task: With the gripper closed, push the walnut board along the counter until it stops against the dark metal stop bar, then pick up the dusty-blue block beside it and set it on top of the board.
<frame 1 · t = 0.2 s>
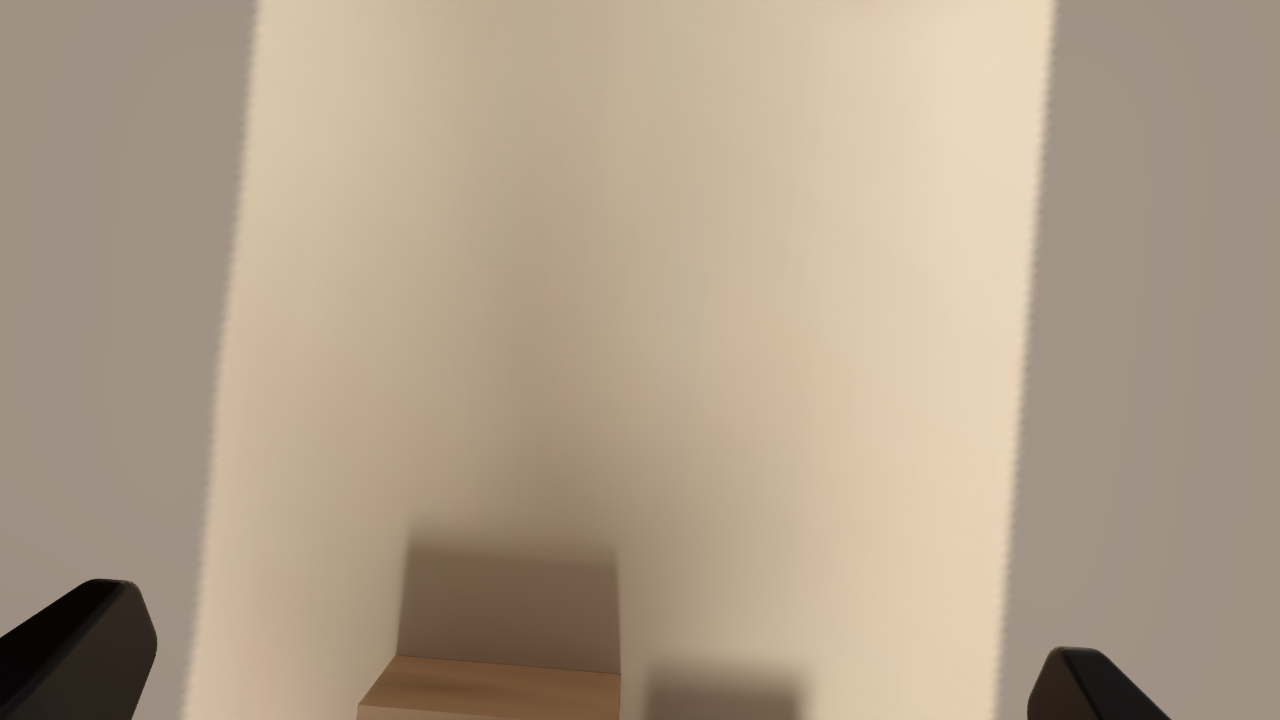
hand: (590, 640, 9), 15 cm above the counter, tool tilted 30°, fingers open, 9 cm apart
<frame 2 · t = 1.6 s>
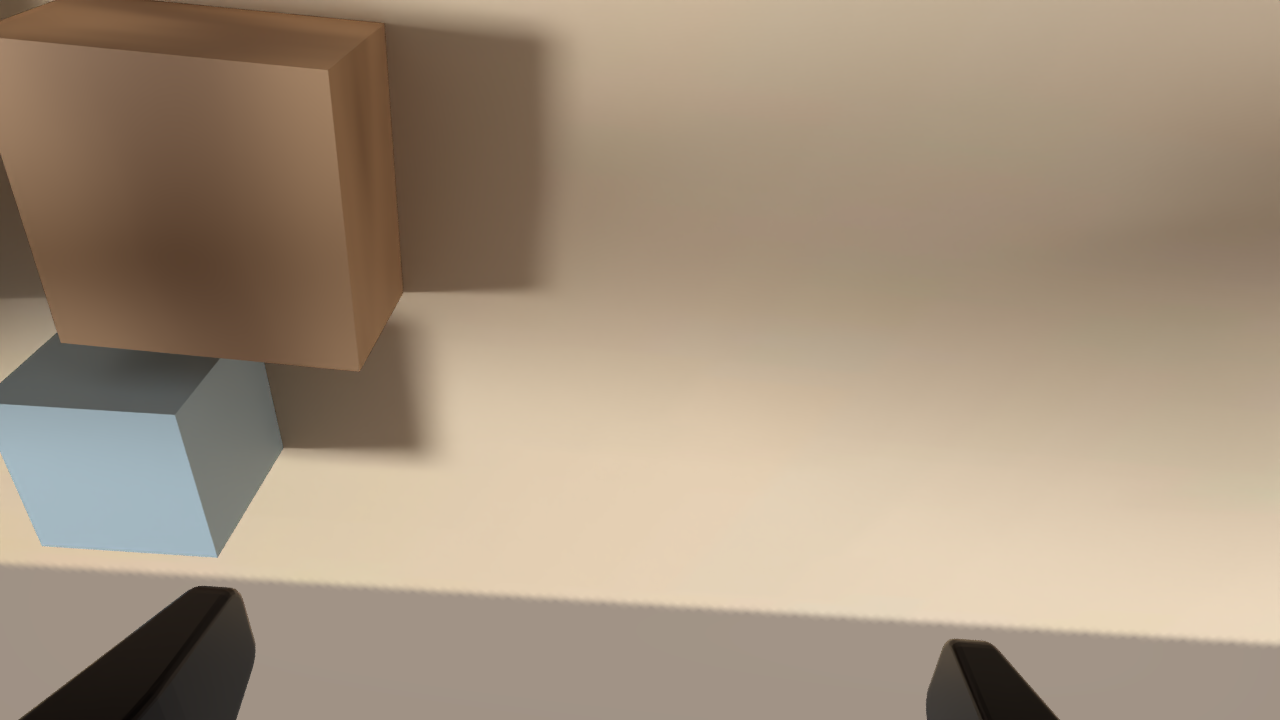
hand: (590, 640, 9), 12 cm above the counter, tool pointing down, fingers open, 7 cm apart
block: (191, 378, 23), on the counter
board: (258, 151, 19), on the counter
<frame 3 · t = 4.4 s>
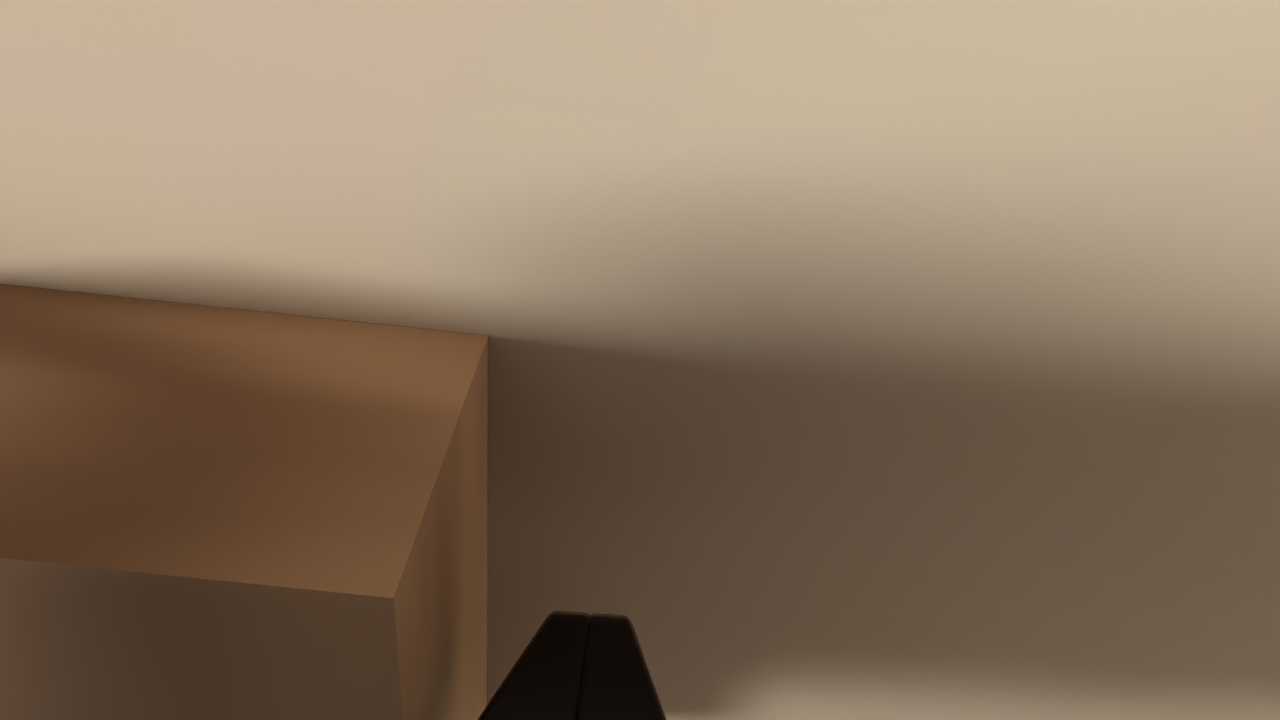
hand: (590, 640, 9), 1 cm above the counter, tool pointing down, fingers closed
board: (233, 519, 11), on the counter, touching gripper
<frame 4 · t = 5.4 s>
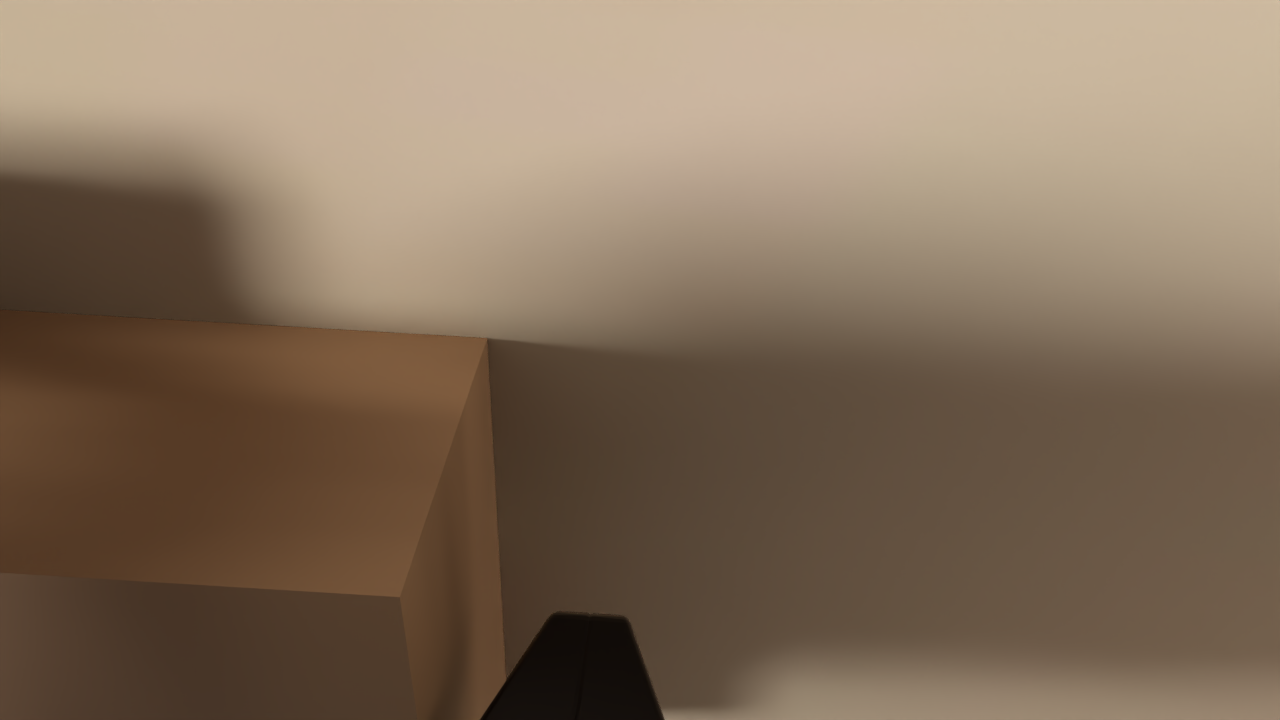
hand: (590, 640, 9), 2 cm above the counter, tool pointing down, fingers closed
board: (250, 529, 11), on the counter, touching stop
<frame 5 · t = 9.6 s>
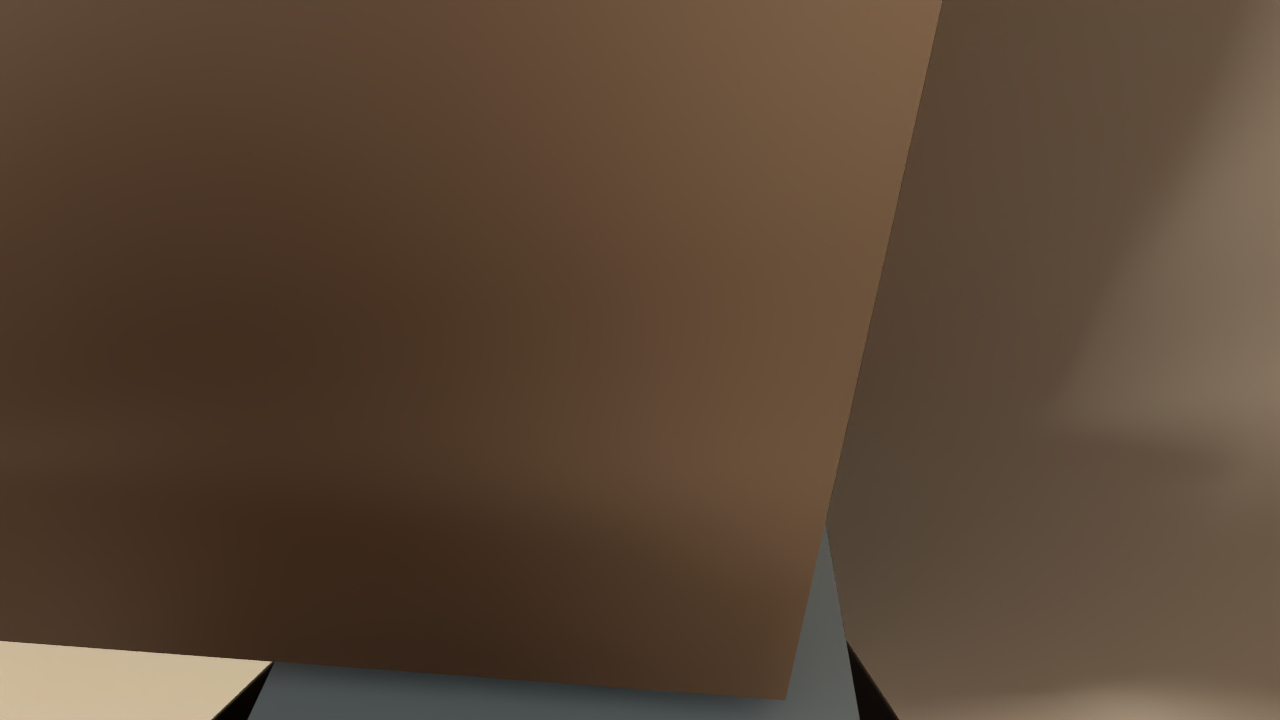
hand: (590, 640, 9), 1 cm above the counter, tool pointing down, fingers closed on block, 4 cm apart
block: (598, 563, 10), on the counter, touching gripper
board: (423, 54, 7), on the counter
when the fingers open (5 cm above the counter, at t = 12.3 s): block drops 1 cm, resting on board.
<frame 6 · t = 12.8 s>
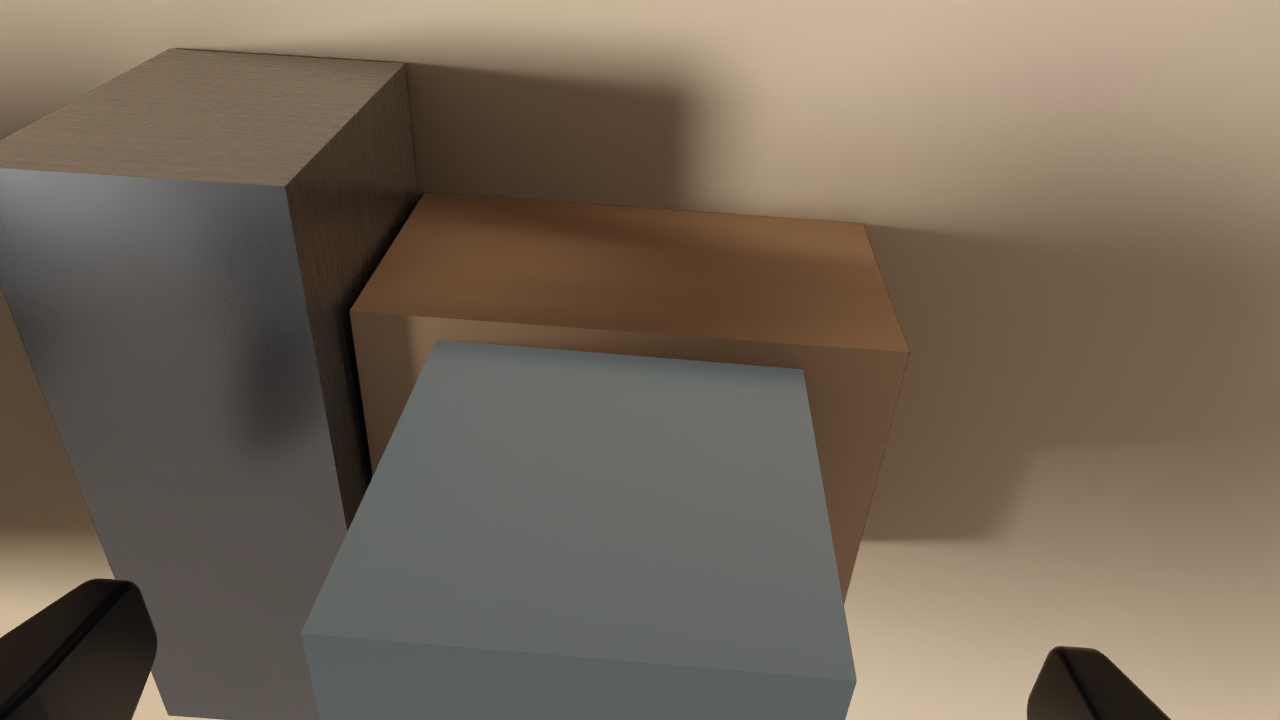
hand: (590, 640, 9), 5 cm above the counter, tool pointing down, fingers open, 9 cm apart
block: (611, 493, 11), point 3 cm above the counter, touching board
board: (633, 377, 14), on the counter, touching block
stop: (331, 326, 14), on the counter
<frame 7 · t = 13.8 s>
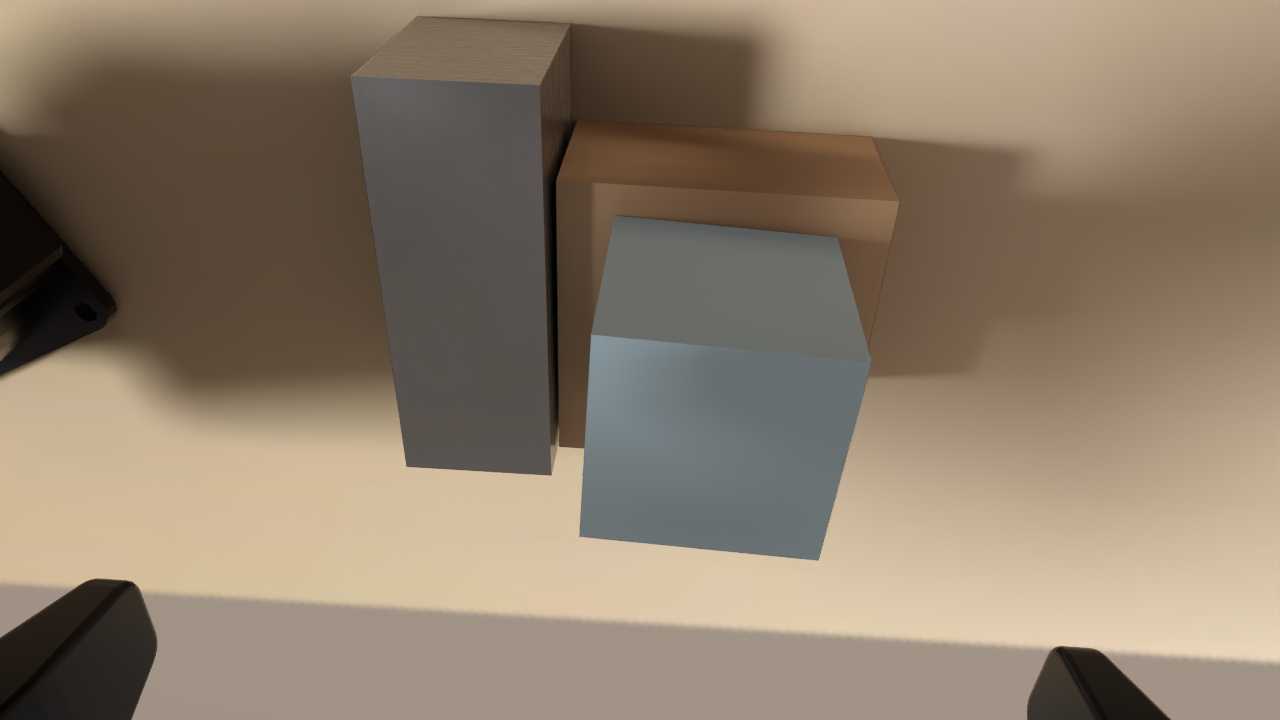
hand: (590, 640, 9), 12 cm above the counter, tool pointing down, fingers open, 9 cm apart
block: (711, 321, 17), point 3 cm above the counter
board: (711, 254, 20), on the counter
stop: (503, 211, 20), on the counter
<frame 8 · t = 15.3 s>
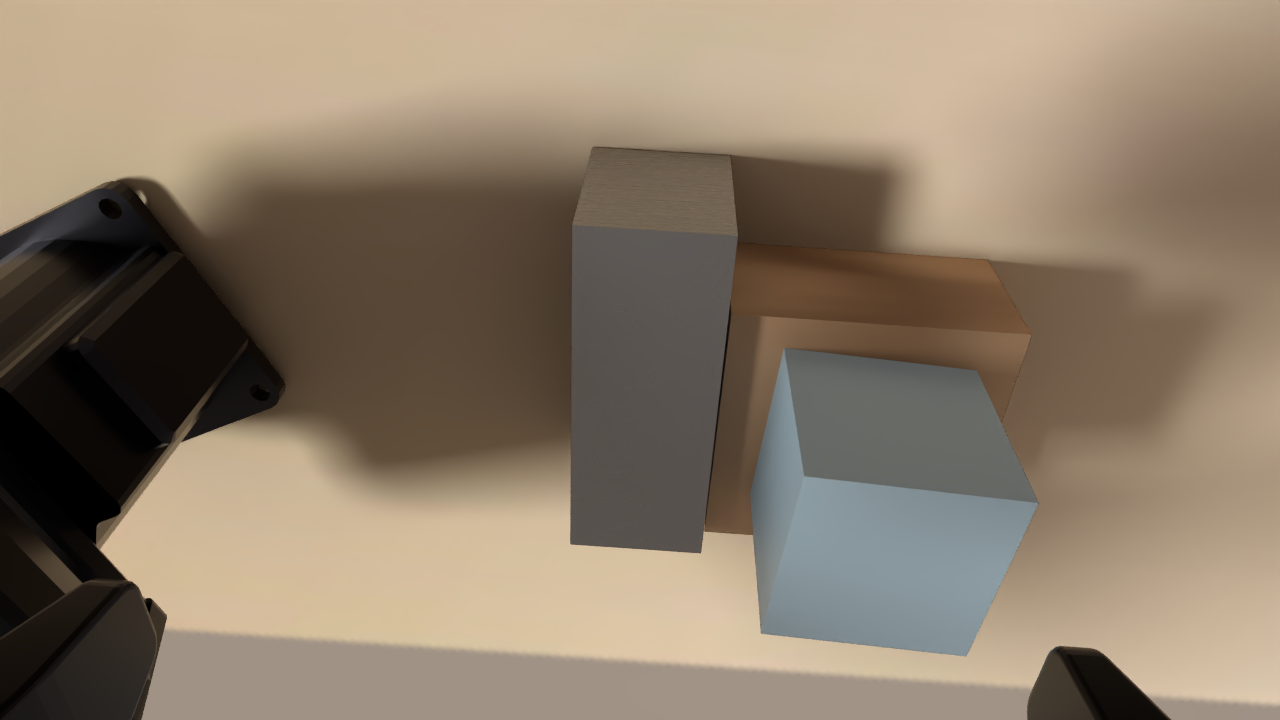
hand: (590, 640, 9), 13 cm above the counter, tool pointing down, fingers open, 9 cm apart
block: (857, 435, 20), point 3 cm above the counter, touching board
board: (833, 354, 23), on the counter, touching block
stop: (651, 310, 22), on the counter
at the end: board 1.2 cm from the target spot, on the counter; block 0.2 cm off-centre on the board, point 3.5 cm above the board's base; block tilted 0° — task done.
